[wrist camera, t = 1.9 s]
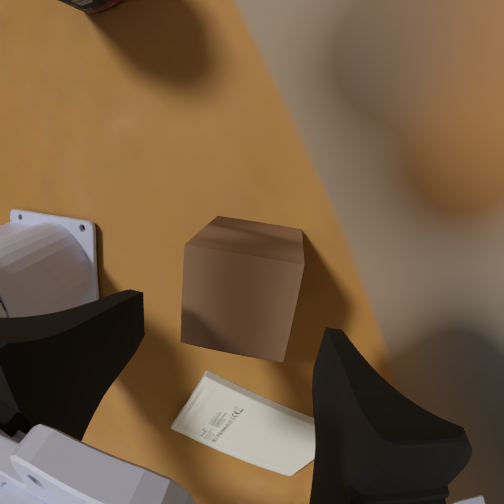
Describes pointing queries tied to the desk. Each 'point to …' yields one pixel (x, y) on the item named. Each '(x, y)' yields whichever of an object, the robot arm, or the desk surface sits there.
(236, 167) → the desk surface
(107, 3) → the supplement bottle
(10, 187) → the desk surface
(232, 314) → the walnut block
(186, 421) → the external hard drive
